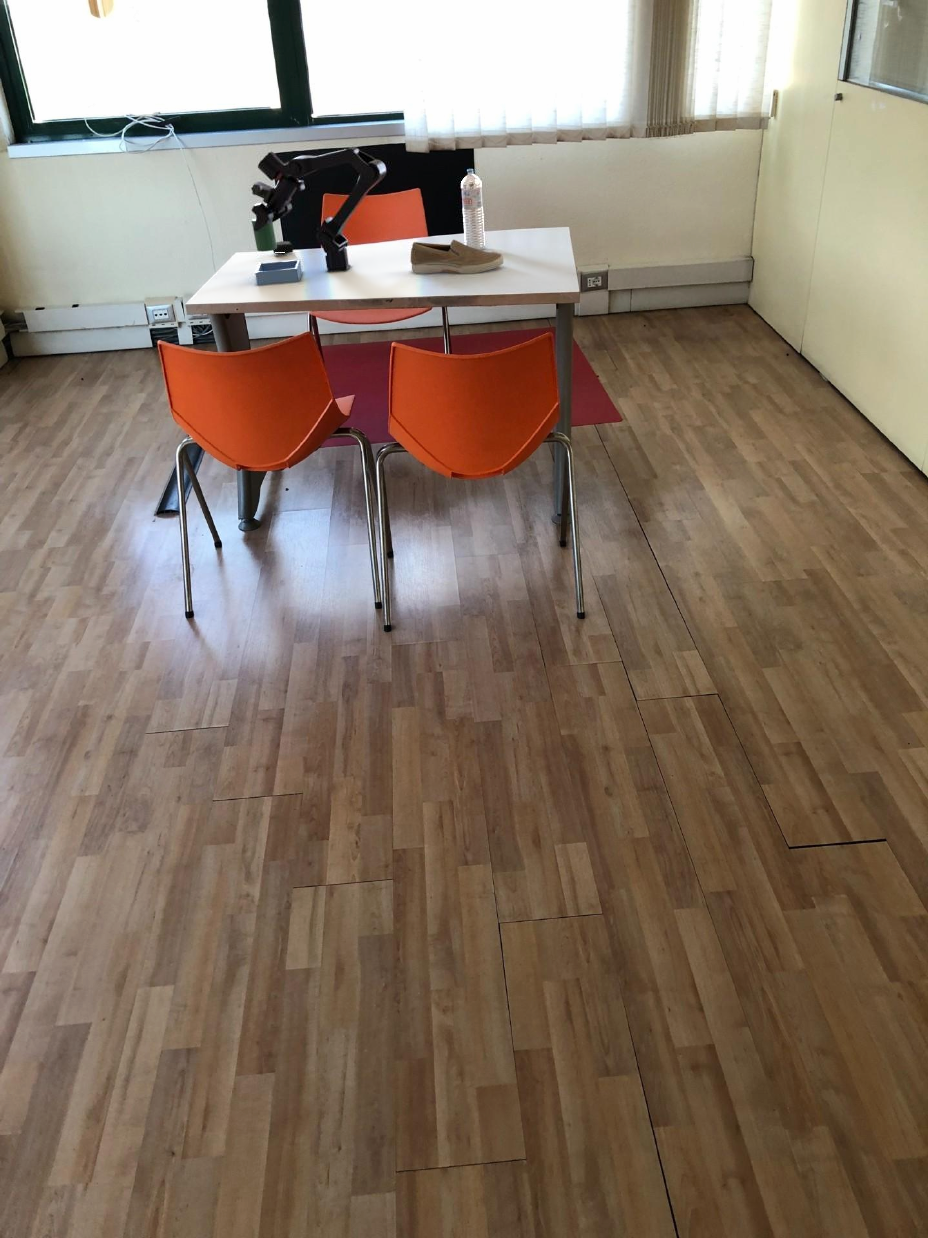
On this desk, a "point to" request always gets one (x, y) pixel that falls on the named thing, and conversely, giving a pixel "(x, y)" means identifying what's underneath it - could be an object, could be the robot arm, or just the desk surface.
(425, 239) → the desk surface
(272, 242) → the bottle
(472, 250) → the slip on shoe
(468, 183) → the water bottle
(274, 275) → the tote
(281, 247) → the tape measure
